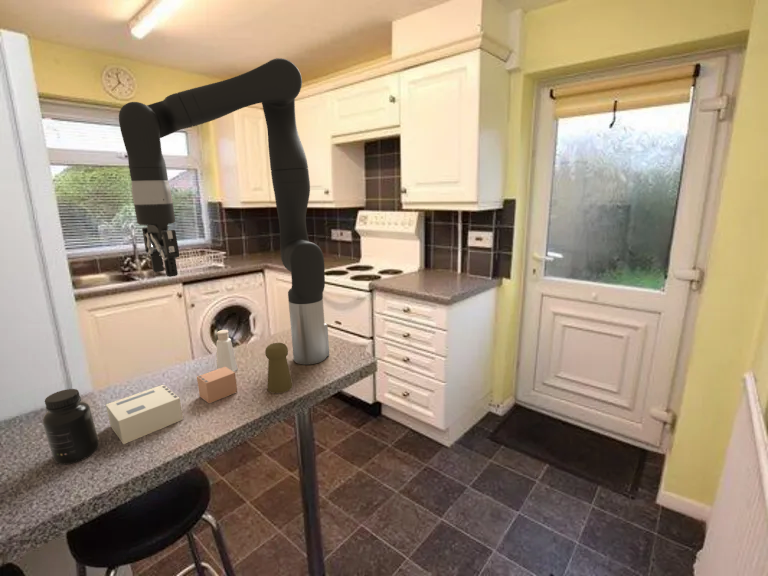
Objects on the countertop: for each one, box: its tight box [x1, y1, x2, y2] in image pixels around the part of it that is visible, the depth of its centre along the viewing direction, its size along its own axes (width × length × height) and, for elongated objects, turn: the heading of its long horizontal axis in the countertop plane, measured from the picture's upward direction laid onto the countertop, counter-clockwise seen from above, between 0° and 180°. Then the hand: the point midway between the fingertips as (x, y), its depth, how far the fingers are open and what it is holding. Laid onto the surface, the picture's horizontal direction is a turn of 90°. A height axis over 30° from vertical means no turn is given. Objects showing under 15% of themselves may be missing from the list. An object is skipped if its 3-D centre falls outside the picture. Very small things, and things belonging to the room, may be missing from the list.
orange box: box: [196, 367, 238, 404], centre depth 92 cm, size 7×5×5 cm
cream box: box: [105, 384, 184, 445], centre depth 82 cm, size 11×9×5 cm
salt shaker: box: [215, 329, 239, 372], centre depth 104 cm, size 5×5×11 cm
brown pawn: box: [264, 342, 294, 394], centre depth 95 cm, size 6×6×11 cm
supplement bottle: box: [42, 388, 100, 465], centre depth 72 cm, size 7×7×12 cm
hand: (165, 273), depth 92 cm, fingers open, 8 cm apart
